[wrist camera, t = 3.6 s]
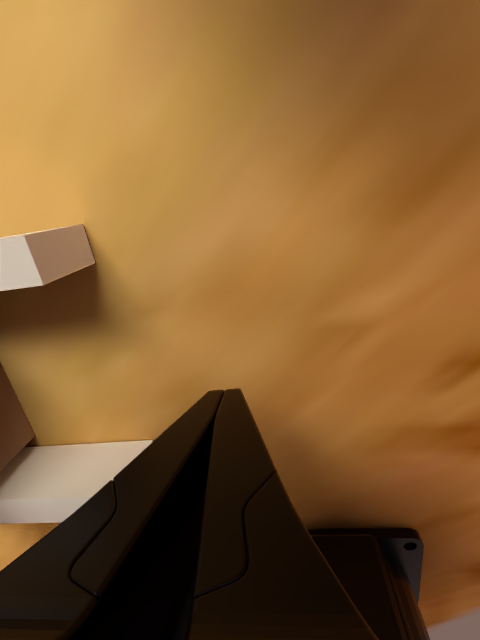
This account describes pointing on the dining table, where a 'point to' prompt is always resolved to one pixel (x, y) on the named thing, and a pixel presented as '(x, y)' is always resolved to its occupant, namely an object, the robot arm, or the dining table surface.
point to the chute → (62, 460)
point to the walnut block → (11, 423)
